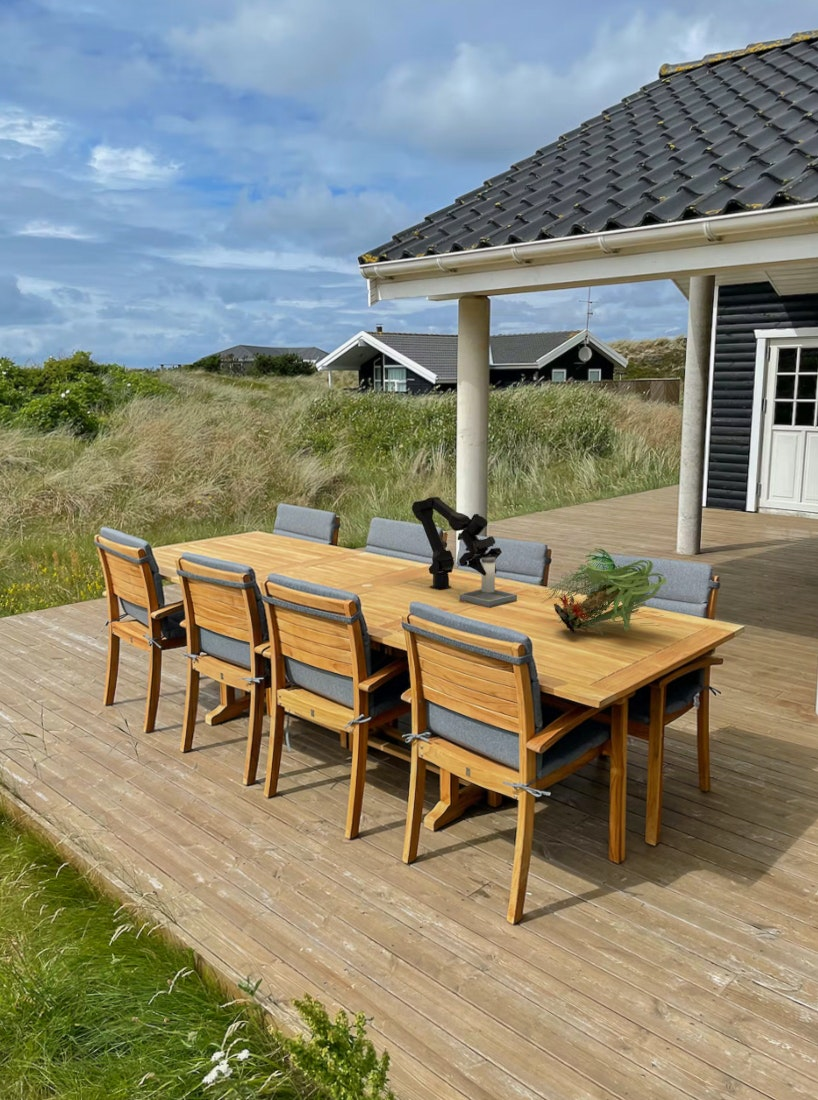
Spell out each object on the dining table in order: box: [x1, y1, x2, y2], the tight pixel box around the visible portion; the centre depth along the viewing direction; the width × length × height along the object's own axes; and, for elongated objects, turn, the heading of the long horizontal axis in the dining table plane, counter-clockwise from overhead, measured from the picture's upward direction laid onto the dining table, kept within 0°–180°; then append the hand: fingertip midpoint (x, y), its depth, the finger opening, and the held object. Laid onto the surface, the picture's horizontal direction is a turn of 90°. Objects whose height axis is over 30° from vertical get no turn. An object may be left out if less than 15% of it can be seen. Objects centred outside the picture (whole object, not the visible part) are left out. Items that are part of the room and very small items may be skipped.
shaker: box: [480, 556, 496, 592], centre depth 340 cm, size 5×5×14 cm
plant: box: [534, 548, 667, 636], centre depth 294 cm, size 35×35×40 cm
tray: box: [459, 589, 518, 609], centre depth 342 cm, size 16×16×2 cm
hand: (490, 573), depth 339 cm, fingers closed on shaker, 5 cm apart
